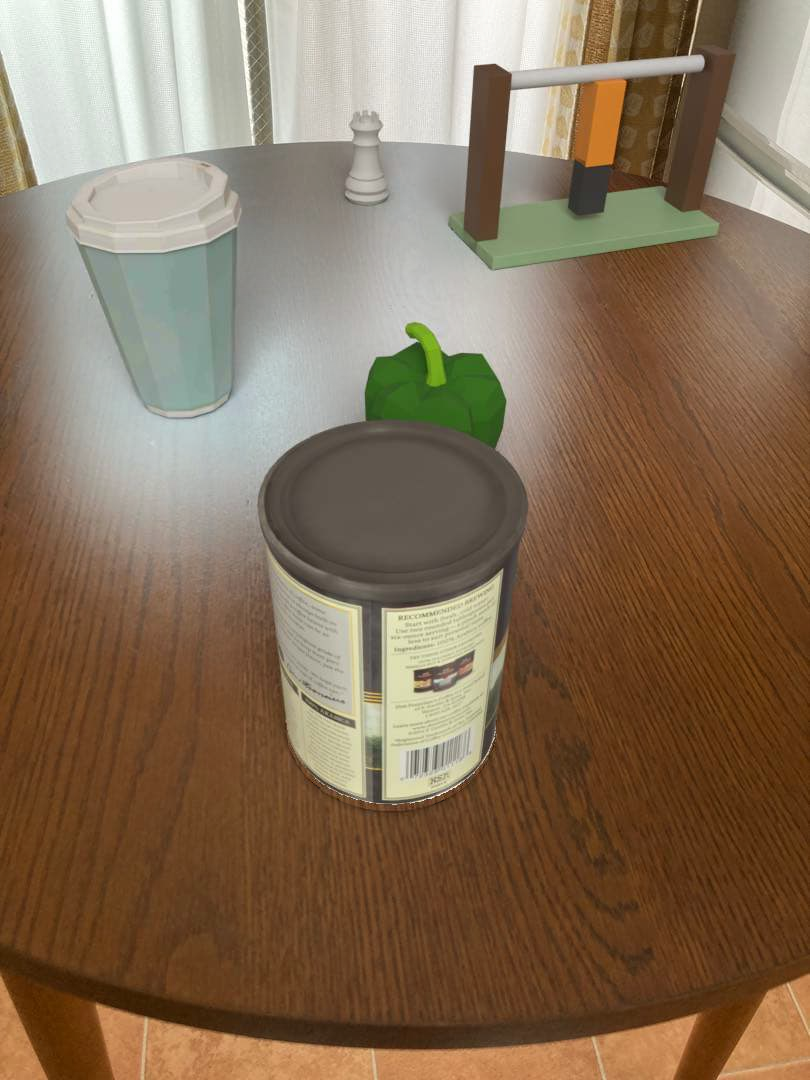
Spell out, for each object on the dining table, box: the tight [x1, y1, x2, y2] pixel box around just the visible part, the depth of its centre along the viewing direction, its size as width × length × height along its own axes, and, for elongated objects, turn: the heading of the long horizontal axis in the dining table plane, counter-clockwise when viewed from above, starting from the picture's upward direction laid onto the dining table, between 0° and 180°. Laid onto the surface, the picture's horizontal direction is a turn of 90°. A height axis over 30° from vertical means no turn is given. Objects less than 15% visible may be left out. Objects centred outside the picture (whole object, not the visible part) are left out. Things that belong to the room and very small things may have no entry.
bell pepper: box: [364, 321, 507, 450], centre depth 55 cm, size 8×8×10 cm
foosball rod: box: [509, 54, 705, 216], centre depth 82 cm, size 19×2×13 cm, turn 111°
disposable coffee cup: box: [64, 156, 243, 419], centre depth 61 cm, size 11×11×15 cm
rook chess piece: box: [344, 109, 390, 206], centre depth 90 cm, size 4×4×8 cm
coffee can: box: [257, 419, 529, 805], centre depth 40 cm, size 10×10×14 cm
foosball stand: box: [448, 44, 737, 271], centre depth 83 cm, size 24×10×15 cm, turn 111°
